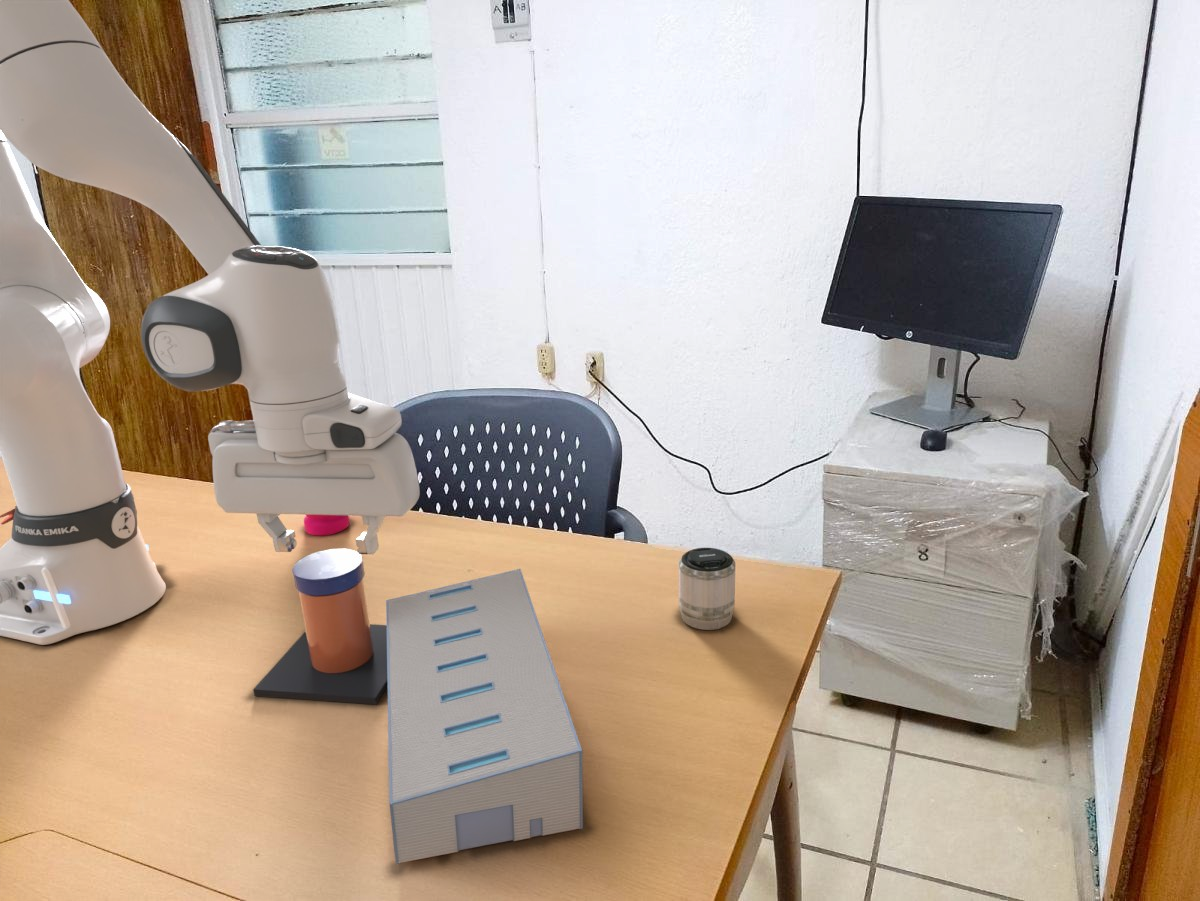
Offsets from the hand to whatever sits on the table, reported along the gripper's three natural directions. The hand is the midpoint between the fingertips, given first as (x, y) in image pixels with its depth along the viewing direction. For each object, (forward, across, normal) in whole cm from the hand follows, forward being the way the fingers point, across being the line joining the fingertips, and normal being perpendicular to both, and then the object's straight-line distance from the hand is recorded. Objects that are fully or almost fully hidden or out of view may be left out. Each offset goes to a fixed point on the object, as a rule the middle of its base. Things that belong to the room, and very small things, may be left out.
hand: (327, 550), depth 84 cm
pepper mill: (+13, -18, +33) cm, 40 cm away
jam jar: (+12, 0, 0) cm, 13 cm away
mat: (+13, 0, 0) cm, 13 cm away
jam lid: (+2, 0, 0) cm, 2 cm away
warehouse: (+13, +16, -9) cm, 23 cm away
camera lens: (+14, +38, +13) cm, 42 cm away
